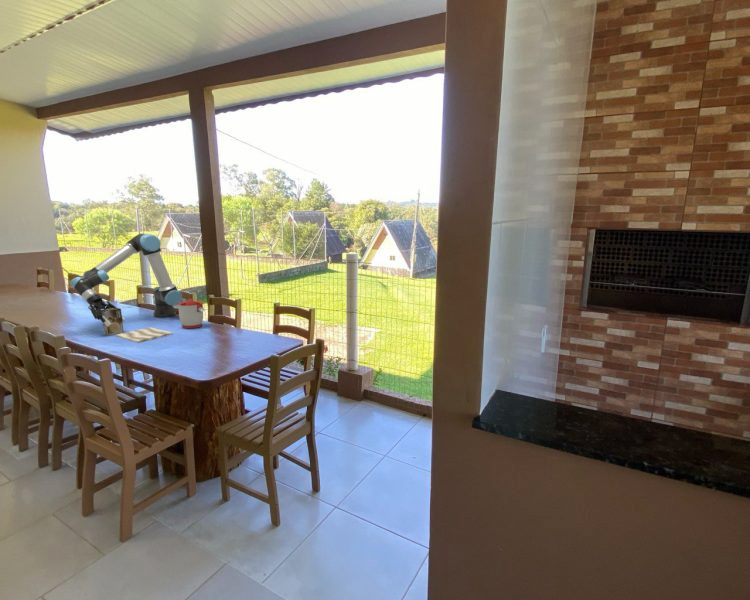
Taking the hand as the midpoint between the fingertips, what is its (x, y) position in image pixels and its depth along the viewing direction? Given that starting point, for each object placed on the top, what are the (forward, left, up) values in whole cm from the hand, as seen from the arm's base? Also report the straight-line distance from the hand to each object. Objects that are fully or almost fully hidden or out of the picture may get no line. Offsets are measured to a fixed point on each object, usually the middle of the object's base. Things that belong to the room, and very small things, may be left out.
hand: (116, 323), depth 240 cm
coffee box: (+1, -3, -7) cm, 8 cm away
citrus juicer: (-37, +23, -7) cm, 44 cm away
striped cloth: (-7, +17, -7) cm, 20 cm away
